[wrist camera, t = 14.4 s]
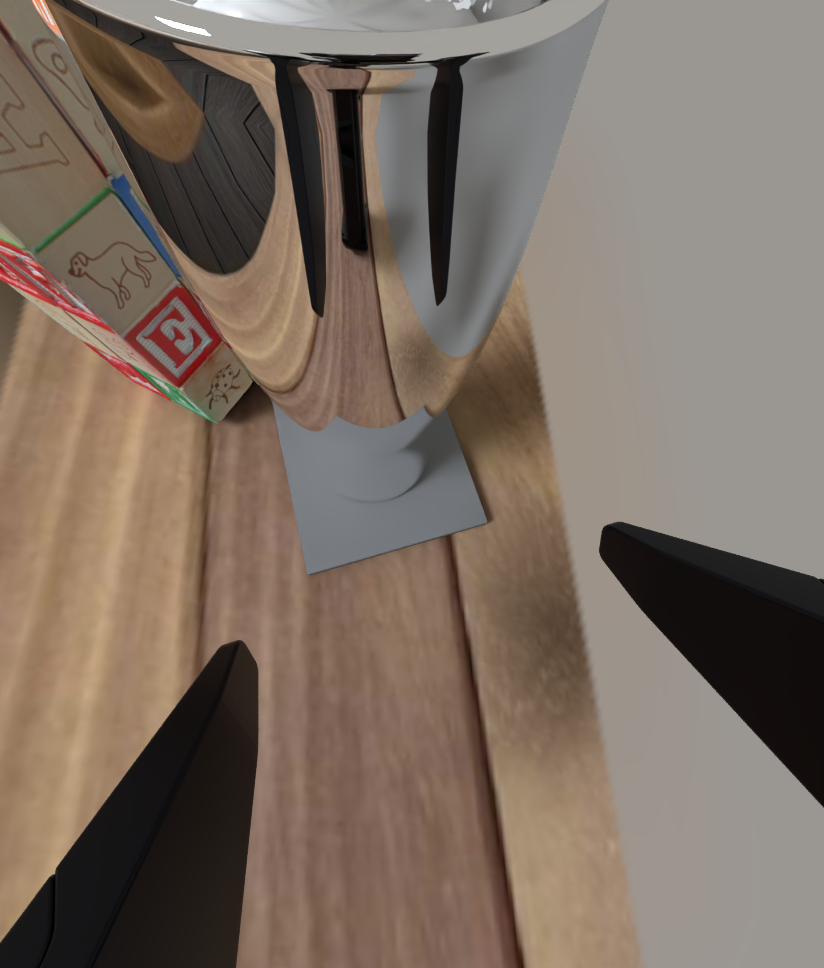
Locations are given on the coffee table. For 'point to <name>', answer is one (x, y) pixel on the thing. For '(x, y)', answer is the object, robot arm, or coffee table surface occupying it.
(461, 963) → the coffee table surface
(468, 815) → the coffee table surface
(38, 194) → the stack of blocks
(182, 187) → the chrome tapered cup
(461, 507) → the charcoal mat
